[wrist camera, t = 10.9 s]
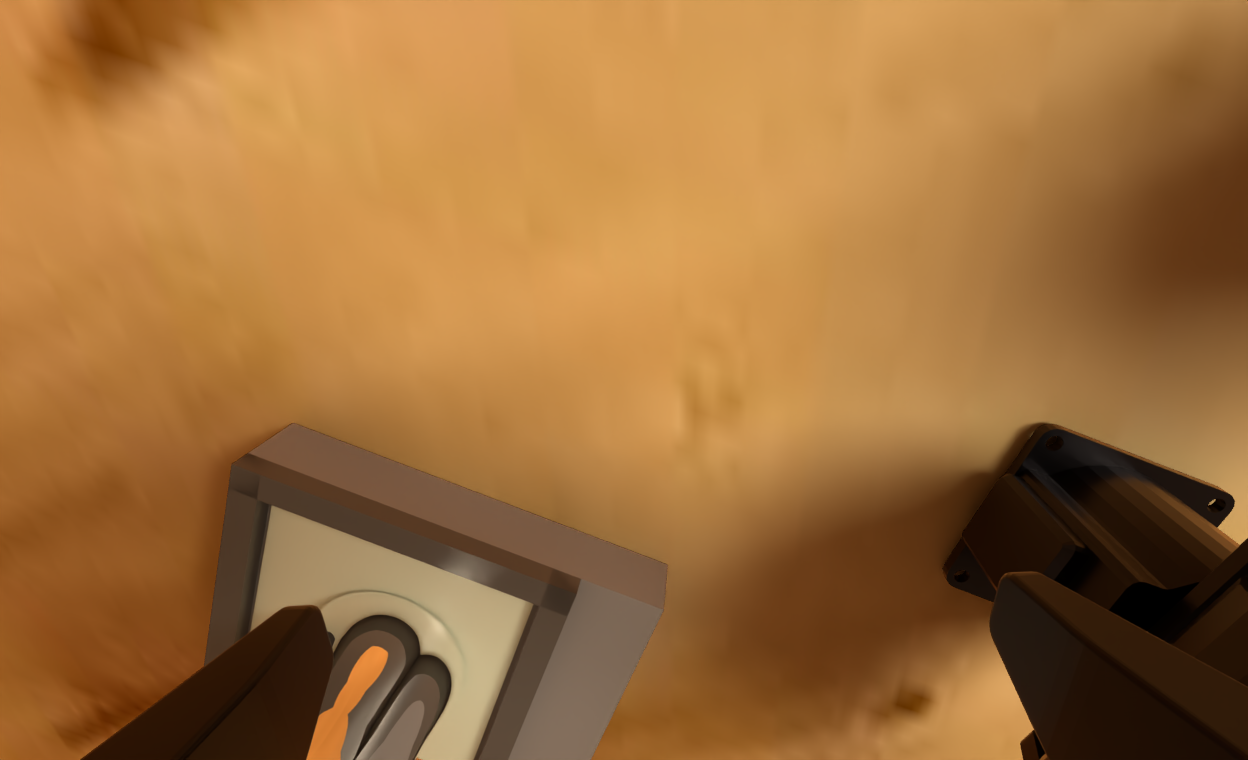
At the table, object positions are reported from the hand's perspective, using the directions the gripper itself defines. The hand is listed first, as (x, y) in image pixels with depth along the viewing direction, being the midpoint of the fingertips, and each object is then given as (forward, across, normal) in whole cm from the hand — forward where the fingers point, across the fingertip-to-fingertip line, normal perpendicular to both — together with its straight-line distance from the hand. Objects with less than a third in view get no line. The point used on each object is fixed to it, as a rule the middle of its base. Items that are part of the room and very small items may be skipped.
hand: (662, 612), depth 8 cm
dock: (+14, +8, +12) cm, 20 cm away
